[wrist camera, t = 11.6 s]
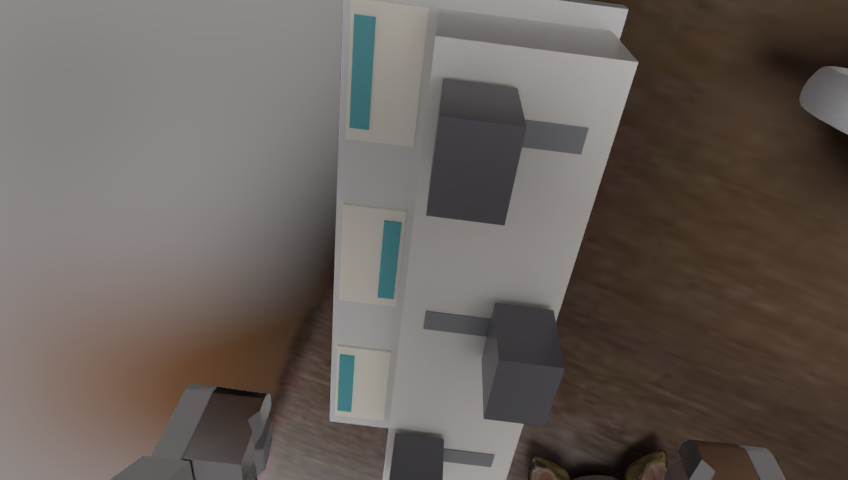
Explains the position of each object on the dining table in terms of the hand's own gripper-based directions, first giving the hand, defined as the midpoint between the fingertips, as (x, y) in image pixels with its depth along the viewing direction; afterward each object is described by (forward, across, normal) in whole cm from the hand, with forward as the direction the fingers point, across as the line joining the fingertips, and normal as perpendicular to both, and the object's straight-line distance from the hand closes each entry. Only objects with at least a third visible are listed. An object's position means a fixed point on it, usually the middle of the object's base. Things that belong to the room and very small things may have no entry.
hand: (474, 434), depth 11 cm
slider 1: (+15, 0, +22) cm, 27 cm away
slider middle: (+15, -4, +11) cm, 19 cm away
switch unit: (+22, 0, +11) cm, 24 cm away
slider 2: (+15, 0, 0) cm, 15 cm away
